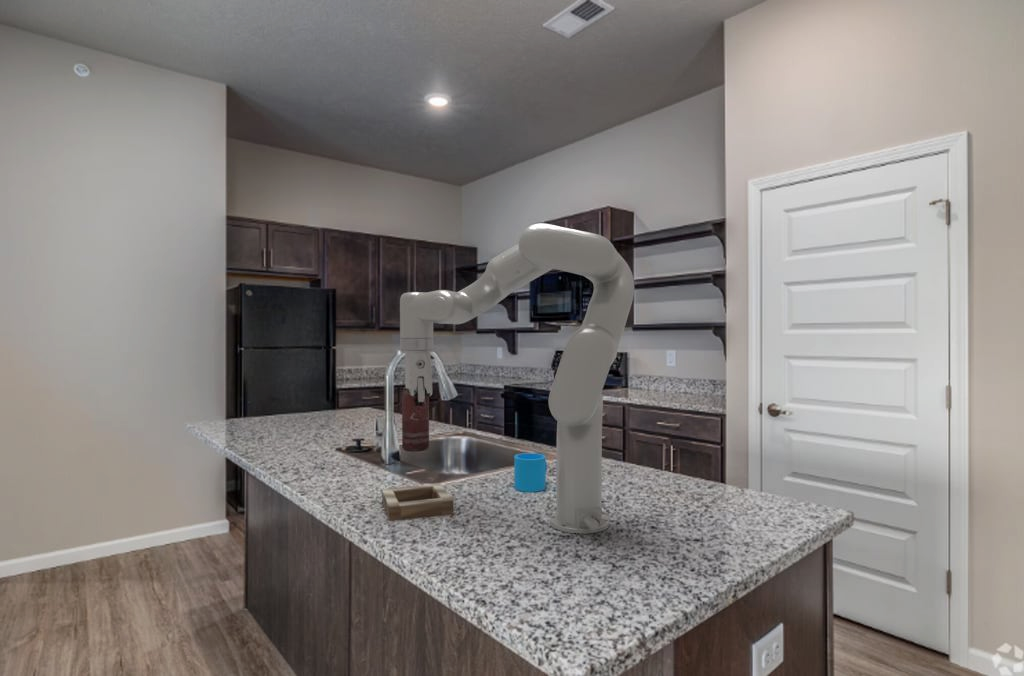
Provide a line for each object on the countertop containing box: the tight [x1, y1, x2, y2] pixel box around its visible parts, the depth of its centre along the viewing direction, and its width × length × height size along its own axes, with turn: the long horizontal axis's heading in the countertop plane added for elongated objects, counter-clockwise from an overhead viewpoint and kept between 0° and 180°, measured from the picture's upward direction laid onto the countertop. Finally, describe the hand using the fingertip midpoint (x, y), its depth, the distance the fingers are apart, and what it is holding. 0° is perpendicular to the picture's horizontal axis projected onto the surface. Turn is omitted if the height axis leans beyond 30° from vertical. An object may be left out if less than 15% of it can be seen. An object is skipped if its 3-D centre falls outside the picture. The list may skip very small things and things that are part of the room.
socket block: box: [381, 483, 454, 522], centre depth 126 cm, size 14×14×3 cm
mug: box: [513, 452, 548, 493], centre depth 145 cm, size 12×8×8 cm
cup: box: [401, 388, 430, 453], centre depth 127 cm, size 6×6×14 cm
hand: (417, 425), depth 126 cm, fingers closed, pressing on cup
